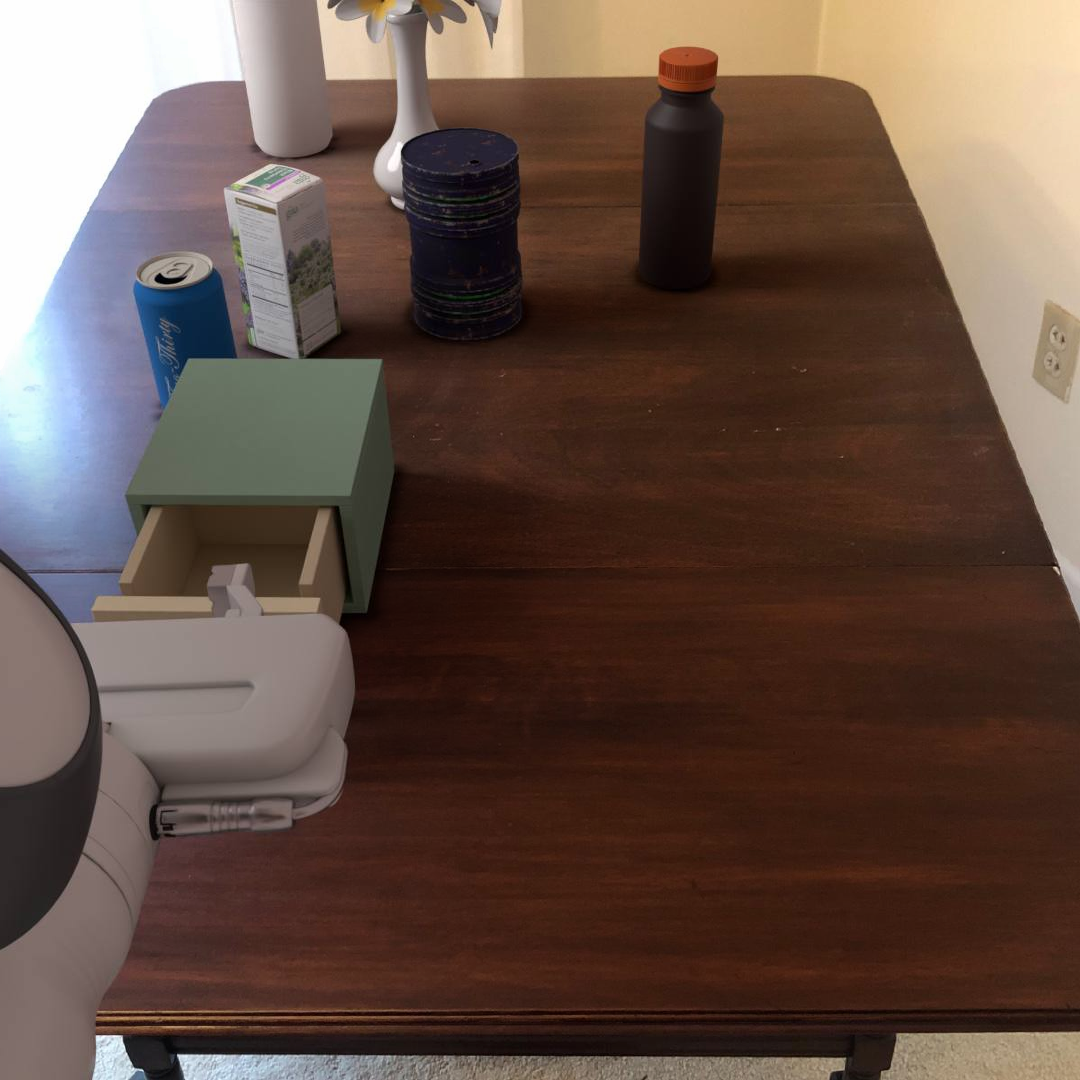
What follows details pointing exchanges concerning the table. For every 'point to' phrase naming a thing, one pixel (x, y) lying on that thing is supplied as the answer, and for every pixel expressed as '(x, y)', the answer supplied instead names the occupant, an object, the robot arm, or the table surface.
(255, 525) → the drawer
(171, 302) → the beverage can
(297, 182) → the syrup box
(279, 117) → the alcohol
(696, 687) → the table surface
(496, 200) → the dark blue cylinder
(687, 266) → the bottle
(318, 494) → the cabinet
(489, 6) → the flower vase
